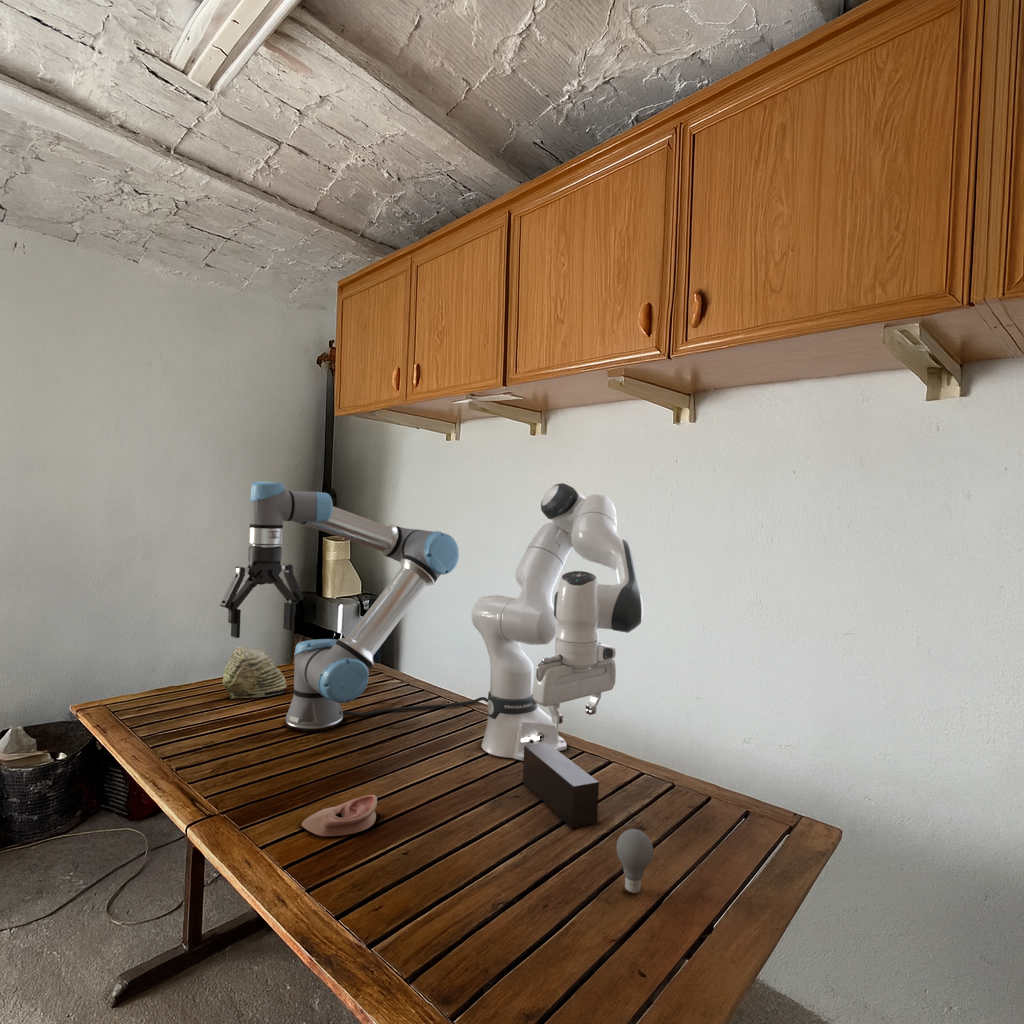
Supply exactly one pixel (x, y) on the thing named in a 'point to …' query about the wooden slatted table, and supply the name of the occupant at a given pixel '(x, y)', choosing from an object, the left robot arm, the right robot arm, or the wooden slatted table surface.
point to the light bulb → (634, 857)
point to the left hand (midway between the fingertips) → (262, 633)
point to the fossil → (252, 674)
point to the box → (561, 784)
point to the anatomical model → (343, 817)
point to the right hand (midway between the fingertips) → (574, 718)
